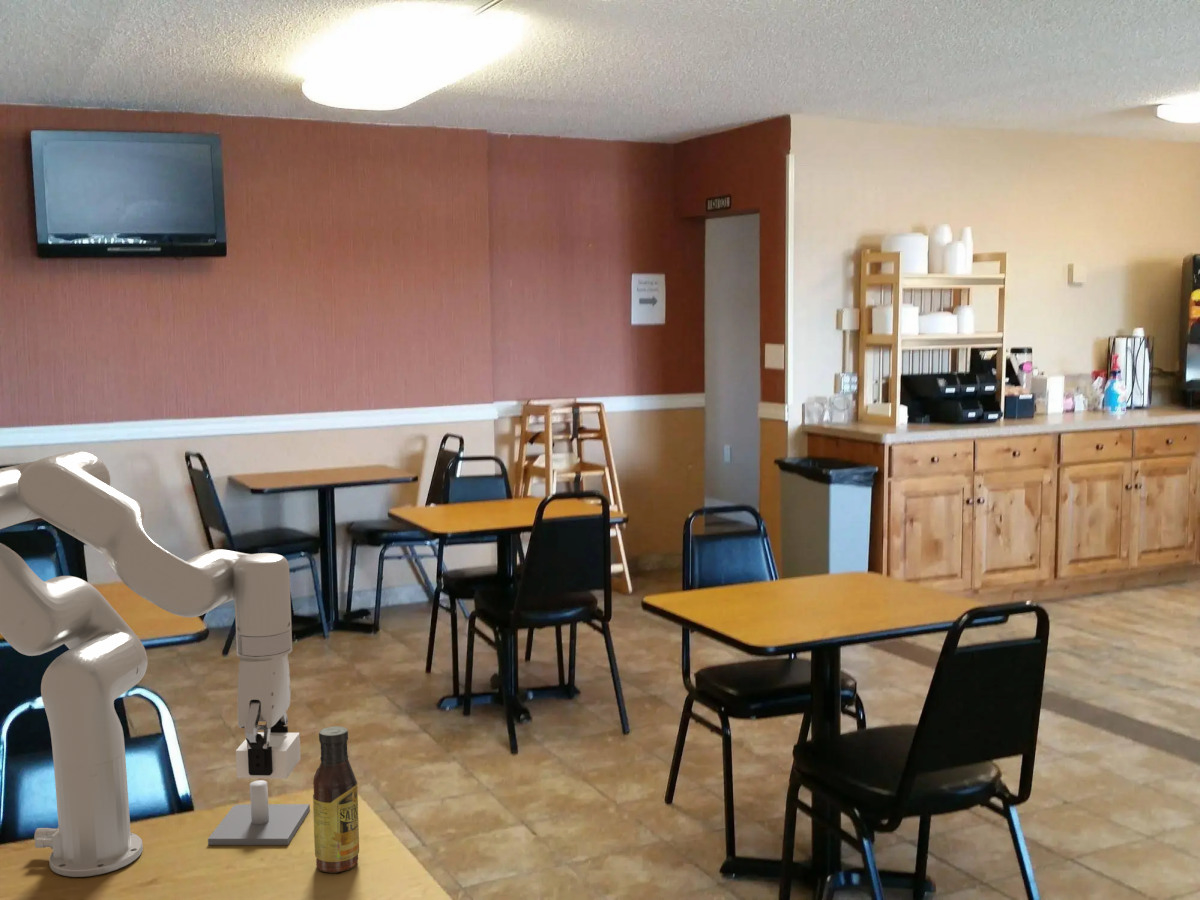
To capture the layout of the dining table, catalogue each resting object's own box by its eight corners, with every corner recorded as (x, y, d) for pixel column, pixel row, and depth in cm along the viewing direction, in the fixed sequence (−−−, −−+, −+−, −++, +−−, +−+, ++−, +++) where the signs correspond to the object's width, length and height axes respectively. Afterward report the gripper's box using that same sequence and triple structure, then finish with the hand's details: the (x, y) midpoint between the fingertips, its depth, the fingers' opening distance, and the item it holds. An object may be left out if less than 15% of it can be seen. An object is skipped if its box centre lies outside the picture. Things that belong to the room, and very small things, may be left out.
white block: (236, 778, 165) (235, 750, 165) (252, 758, 172) (251, 732, 172) (286, 778, 165) (285, 751, 164) (300, 759, 172) (299, 732, 171)
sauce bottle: (349, 877, 166) (343, 741, 164) (307, 873, 167) (301, 738, 165) (367, 855, 173) (362, 724, 170) (327, 852, 174) (321, 722, 171)
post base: (208, 845, 177) (205, 800, 176) (235, 810, 188) (232, 768, 188) (288, 845, 176) (285, 800, 175) (309, 810, 188) (307, 768, 187)
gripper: (257, 625, 175) (262, 740, 177) (216, 661, 158) (222, 788, 160) (307, 625, 175) (311, 741, 177) (272, 661, 157) (277, 789, 160)
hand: (269, 762), depth 168 cm, fingers closed on white block, 7 cm apart
